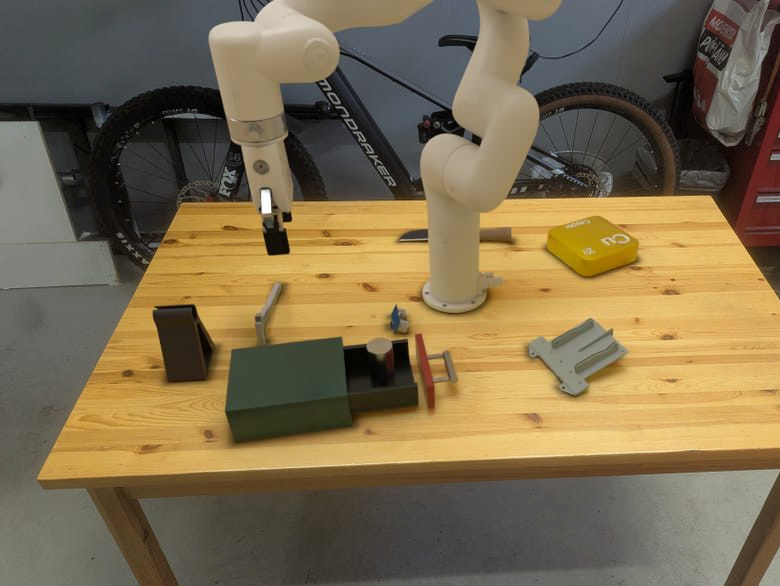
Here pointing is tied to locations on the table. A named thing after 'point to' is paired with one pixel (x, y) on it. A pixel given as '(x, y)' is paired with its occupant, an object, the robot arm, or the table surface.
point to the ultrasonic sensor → (399, 320)
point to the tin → (381, 362)
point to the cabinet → (287, 389)
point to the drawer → (404, 387)
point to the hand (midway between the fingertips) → (280, 237)
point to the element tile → (592, 245)
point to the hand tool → (485, 234)
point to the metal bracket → (578, 353)
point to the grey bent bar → (266, 315)
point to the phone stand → (183, 342)
